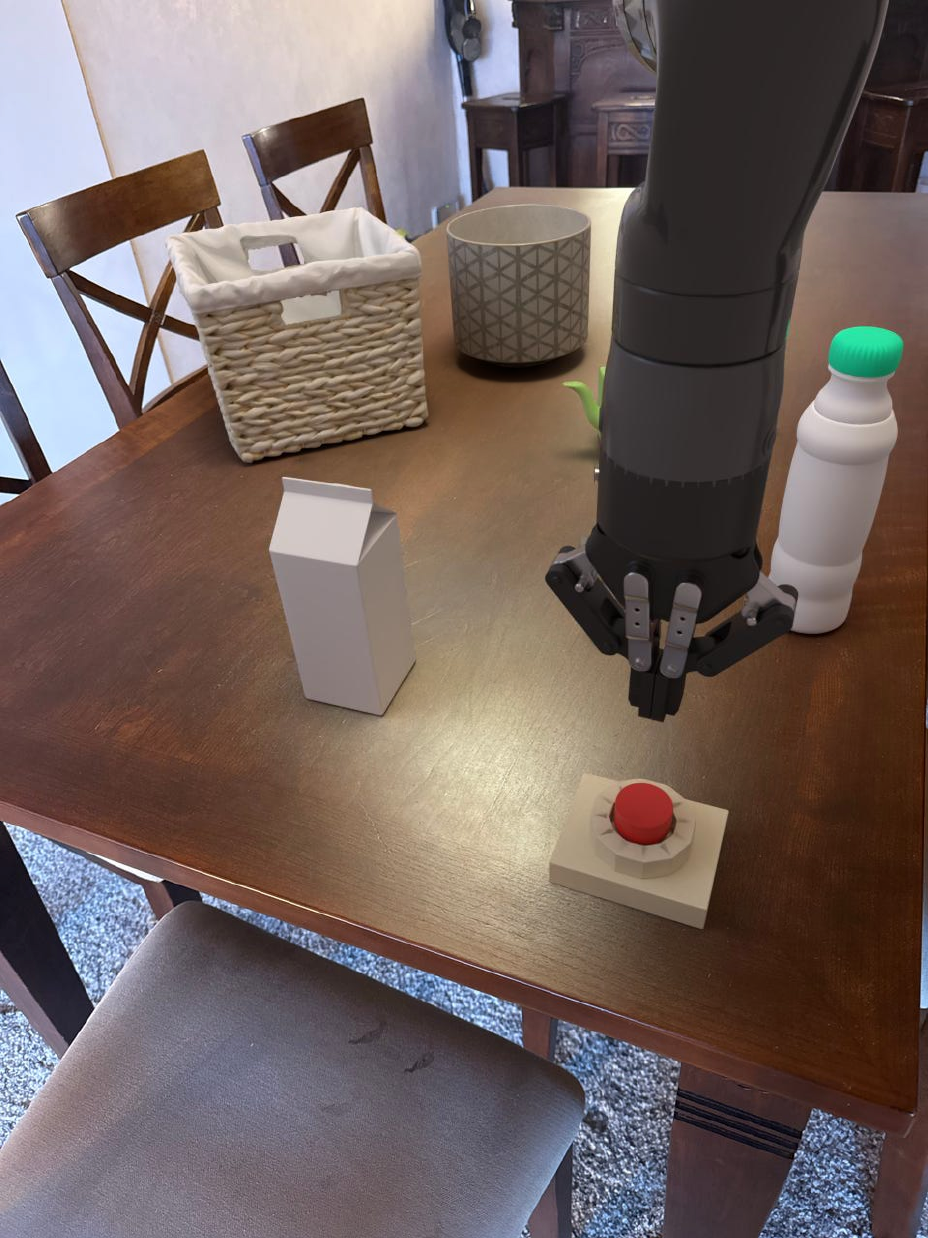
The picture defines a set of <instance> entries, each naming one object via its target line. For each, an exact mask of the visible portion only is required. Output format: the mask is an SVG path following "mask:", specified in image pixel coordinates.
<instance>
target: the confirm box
mask: <svg viewBox="0 0 928 1238" xmlns="http://www.w3.org/2000/svg"><path fill="white" fill-rule="evenodd" d="M634 783H648V784H652V785H655V786H657V787H659V788H661V789H662V790H664V791H665V792H666V793H667V794H668V795H669V797H670V798H671V800H672V803H673V815H672V822H671V828H670V831H669V833H668V835H667V836H666V837H665V838H664V839H663V840H661V841H660V842H658V843H655V844H650V845H641V844H636V843H633V842H630V841H628V840H627V839H625V838H624V837H623V836H622V835H620V833H619V832H618V831H617V829H616V827H615V824H614V812H615V800H616V797H617V795H618V793H619V792H620V791H621V790H622V789H623V788H624V787H626V786H628V785H630V784H634ZM729 812H730V811H729V810H728V809H726V808H721V807H717V806H713V805H710V804H706V803H703V802H698V801H694V800H692V799H687V798H684V796H682V795H680V794H679V793H678V792H677V791H676V790H674V789H673V788H671V786H670V785H668V784H664V783H661V782H658V781H653V780H650V779H645V778H641V777H639V778H632V779H627V780H626V779H625V780H615V779H611V778H607V777H604V776H600V775H596V774H593V773H589V772H583V774H582V776H581V779H580V781H579V784H578V787H577V788H576V791H575V794H574V797H573V799H572V802H571V804H570V807H569V810H568V812H567V815H566V818H565V820H564V822H563V825H562V827H561V830H560V833H559V835H558V837H557V841H556V843H555V846H554V848H553V851H552V853H551V855H550V859H549V861H548V882H550V883H552V884H554V885H558V886H562V887H564V888H568V889H571V890H574V891H578V892H580V893H583V894H587V895H590V896H593V897H596V898H600V899H604V900H607V901H609V902H612V903H616V904H619V905H622V906H625V907H628V908H632V909H635V910H639V911H642V912H645V913H648V914H652V915H654V916H657V917H661V918H664V919H667V920H671V921H673V922H677V923H680V924H684V925H687V926H690V927H693V928H697V929H699V930H704V928H705V923H706V919H707V914H708V909H709V905H710V900H711V896H712V892H713V887H714V882H715V878H716V873H717V869H718V865H719V864H718V863H719V859H720V854H721V850H722V845H723V840H724V837H725V832H726V827H727V821H728V817H729Z"/></svg>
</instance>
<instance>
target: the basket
mask: <svg viewBox="0 0 928 1238" xmlns="http://www.w3.org/2000/svg"><path fill="white" fill-rule="evenodd" d="M164 241H165V242H164V243H165V248H166V252H167V256H168V259H169V261H170V262H171V264H172V268H173V270H174V271H173V272H174V274H175V278H176V279H175V280H176V283H177V285H178V288H179V293H180V295H182V297H183V298H184V301H186V305H187V306H188V308H189V309H190V312H191V316H192V318H193V322H194V327H195V328H196V330H197V334H198V336H199V337H198V338H199V342H200V346H201V350H202V351H203V356H204V359H205V361H206V365H207V372H208V375H209V376H210V380H211V384H212V386H213V391H214V392H215V398H216V399H217V403H218V406H219V408H220V409H219V411H220V413H221V414H222V419H223V421H224V426H225V430H226V431H227V436H228V440H229V442H230V445H231V446H232V448H233V449H234V451H235V453H236V454H237V455H238V457H239V458H240V460H242V462H243V463H246V464H247V463H248V464H251V463H253V462H255V461H260V460H262V459H263V458H264V457H278V456H281V455H282V454H283V453H297V452H300V451H301V450H302V449H318V448H319V447H321V445H322V444H323V445H324V444H336V443H342V442H343V441H353V440H356V439H360V438H362V437H363V436H364V435H367V436H371V435H376V434H379V433H382V431H384V432H385V431H395V430H397V431H399V430H401V429H403V428H404V426H405V427H406V428H407V427H408V428H415V427H418V426H420V425H422V424H423V423H424V420H426V419H427V418H428V417H429V410H428V403H427V402H428V401H427V397H426V394H427V393H426V391H427V389H426V385H425V383H426V382H425V377H426V374H425V373H426V371H425V369H424V358H425V356H424V342H423V338H422V336H421V335H422V331H423V327H422V325H423V323H422V318H421V299H420V296H421V294H420V279H419V278H421V277H422V276H423V273H422V271H423V262H422V257H421V253H420V251H419V250H418V249H417V247H416V246H415V245H413V244H411V243H410V242H409V241H407V240H406V238H405V237H404V236H403V235H401V234H399V233H398V232H397V231H396V229H394V228H392V227H391V226H389V224H386V223H385V222H383V221H382V220H381V219H379V218H378V217H377V216H375V215H373V214H372V213H371V212H370V211H369V210H366V209H365V208H364V207H363V206H358V207H357V206H353V207H349V208H343V209H334V210H327V211H322V212H320V213H310V214H307V215H300V216H299V215H297V216H292V217H286V218H283V219H273V220H269V221H267V220H266V221H264V220H263V221H261V220H259V221H254V222H247V221H246V222H240V223H237V224H235V223H228V224H225V225H223V226H220V227H218V228H206V229H199V230H197V231H190V232H182V233H179V234H178V233H177V234H176V233H174V234H173V233H172V234H170V235H167V236H166V238H165V240H164ZM286 244H287V245H288V244H297V245H298V247H299V248H298V249H299V250H300V253H301V257H302V259H303V263H301V264H293V265H288V266H286V267H279V268H278V267H276V268H273V269H261V270H260V269H253V268H252V267H251V264H250V263H249V257H250V255H249V251H250V250H252V251H253V250H261V249H263V248H264V249H265V248H269V247H277V246H283V245H286Z"/></svg>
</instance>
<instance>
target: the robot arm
mask: <svg viewBox="0 0 928 1238" xmlns="http://www.w3.org/2000/svg"><path fill="white" fill-rule="evenodd" d="M611 2H612V3H611V4H612V10H613V14H614V19H615V22H616V25H617V28H618V30H619V33H620V35H621V38H622V39H623V41H624V43H625V45H626V46H627V48H628V50H629V51H630V53H631V54H632V55H633V56H634V58H635V59H636V60H637V61H638V62H639V63H640V64H641V65H642V66H643V67H644V68H645V69H647V71H649V72H651V74H654V75H655V76H656V84H655V98H654V104H653V115H652V122H651V130H650V131H651V132H650V139H649V147H648V153H647V162H646V170H645V178H644V181H642V182H640V183H639V184H638V186H636V187H635V188H634V189H633V190H632V191H631V193H630V194H629V196H628V197H627V199H626V201H625V203H624V205H623V208H622V211H621V216H620V219H619V225H618V230H617V237H616V247H615V259H614V273H613V292H612V293H613V294H612V314H611V329H610V331H611V335H610V344H609V349H608V356H607V361H606V365H605V366H606V370H605V376H604V383H603V393H602V405H601V407H600V410H599V430H600V437H599V457H598V467H599V475H598V483H597V497H596V499H597V500H596V501H597V502H596V519H595V521H596V522H595V525H594V526H593V528H592V529H591V531H590V534H589V536H587V537H588V539H587V541H586V544H584V545H582V546H580V547H579V546H578V547H575V546H572V545H563V546H562V547H561V548H560V549H559V551H558V553H557V554H556V555H555V557H554V559H553V560H552V561H551V564H550V566H549V569H548V570H547V572H546V574H545V577H544V580H545V583H546V585H547V586H548V587H549V589H550V590H551V591H552V592H553V593H554V595H555V596H556V598H557V599H558V600H559V602H560V603H561V604H562V605H563V606H564V608H565V609H566V610H567V611H568V613H569V614H570V615H571V617H572V618H573V619H574V621H575V622H576V623H577V624H578V626H579V627H580V628H581V629H582V631H583V632H584V633H585V634H586V636H587V637H588V638H589V640H590V641H591V642H592V643H593V645H594V646H595V647H596V649H597V650H598V651H599V653H601V654H602V655H605V656H615V655H617V654H618V655H620V656H622V657H623V658H625V659H626V660H627V661H628V664H629V666H630V672H629V685H628V696H627V699H628V703H629V704H630V706H631V707H635V708H638V710H637V717H638V718H642V719H647V720H651V721H655V722H659V723H664V722H665V720H666V718H667V715H668V716H673V717H675V716H676V714H677V713H678V712H679V710H680V707H681V704H682V700H683V699H684V698H683V697H684V695H685V687H686V681H687V675H688V674H689V673H693V672H697V673H698V674H700V675H701V676H703V677H706V678H713V677H715V676H717V675H719V674H721V673H723V672H724V671H726V670H727V669H728V668H731V667H733V666H734V665H735V664H737V663H739V662H741V661H742V660H744V659H745V658H748V656H750V655H752V654H753V653H756V652H757V651H759V650H760V649H762V648H764V647H765V646H767V645H769V644H770V643H772V642H773V641H775V640H776V639H778V638H780V637H782V636H783V635H785V634H787V633H788V632H790V631H791V629H792V626H793V622H794V616H795V611H796V606H797V600H798V591H797V589H796V588H795V587H793V586H791V585H788V584H782V585H779V586H777V585H775V584H774V583H773V582H772V581H771V580H770V579H769V578H768V577H769V576H767V575H766V574H765V573H763V572H762V571H761V570H762V568H763V563H764V561H763V554H762V553H761V551H760V547H759V546H758V541H757V537H758V536H757V535H758V529H759V526H760V525H759V524H760V519H761V515H762V514H761V513H762V508H763V503H764V498H765V492H766V487H767V483H768V478H769V477H768V476H769V472H770V465H771V462H772V461H771V460H772V454H773V449H774V446H775V443H776V440H777V436H778V434H777V433H778V425H779V419H780V418H779V417H780V414H781V407H782V402H783V395H784V388H785V387H784V385H785V359H786V348H787V338H788V336H789V331H790V325H791V324H790V323H791V319H792V314H793V313H792V312H793V307H794V302H795V296H796V291H797V287H798V280H799V276H800V272H799V271H800V269H801V262H802V257H803V255H802V254H803V249H804V247H803V246H804V237H805V232H806V228H807V226H808V224H809V221H810V219H811V217H812V214H813V212H814V210H815V208H816V206H817V204H818V201H819V199H820V197H821V195H822V193H823V191H824V190H825V186H826V184H827V183H828V180H829V179H830V178H829V177H830V175H831V173H832V171H833V168H834V165H835V163H836V160H837V157H838V155H839V152H840V150H841V147H842V145H843V142H844V140H845V137H846V134H847V132H848V129H849V127H850V125H851V122H852V119H853V117H854V114H855V111H856V110H857V107H858V104H859V101H860V99H861V96H862V93H863V91H864V88H865V85H866V83H867V80H868V77H869V75H870V71H871V69H872V66H873V63H874V60H875V57H876V54H877V52H878V48H879V44H880V40H881V37H882V34H883V29H884V26H885V20H886V16H887V11H888V7H889V2H890V0H611ZM598 575H599V576H600V577H601V578H602V580H603V581H604V583H605V584H606V586H607V587H608V588H609V590H610V591H611V593H612V594H613V596H614V597H615V598H616V600H617V601H618V602H619V604H620V605H621V606H623V607H624V608H625V609H622V608H621V606H620V605H619V604H618V602H617V601H616V600H615V599H614V597H613V596H612V595H611V593H610V592H609V591H608V589H607V588H606V587H605V585H604V584H603V583H602V581H601V580H600V579H599V577H598ZM745 595H746V596H745ZM743 596H745V597H744V599H743V603H742V606H741V609H740V610H739V611H737V612H736V613H734V614H733V615H731V616H730V617H728V618H727V619H725V620H724V621H722V622H721V623H719V624H718V625H716V626H715V627H713V628H711V629H710V630H708V631H707V632H706V633H705V634H704V636H695V633H696V629H697V625H699V624H704V623H706V622H709V621H710V620H712V619H714V618H715V617H716V616H717V615H718V614H720V613H721V612H722V611H724V610H726V609H727V608H728V607H730V606H731V605H732V604H734V603H735V602H736V601H738V600H739V599H741V598H742V597H743ZM662 621H665V622H667V623H668V626H667V630H666V635H665V639H664V647H663V648H660V647H661V639H662Z"/></svg>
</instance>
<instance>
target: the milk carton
mask: <svg viewBox="0 0 928 1238" xmlns="http://www.w3.org/2000/svg"><path fill="white" fill-rule="evenodd" d="M281 482H282V487H283V494H282V499H281V502H280V505H279V510H278V514H277V517H276V521H275V524H274V529H273V532H272V536H271V540H270V542H269V543H270V544H269V547H268V552H269V555H270V559H271V563H272V568H273V572H274V576H275V579H276V583H277V587H278V591H279V595H280V599H281V604H282V607H283V612H284V617H285V620H286V624H287V628H288V632H289V636H290V641H291V644H292V645H291V646H292V648H293V653H294V656H295V661H296V665H297V669H298V672H299V677H300V682H301V684H302V689H303V693H304V697H305V698H306V699H308V700H311V701H316V702H319V703H325V704H329V705H334V706H337V707H341V708H345V709H346V708H347V709H351V710H355V711H359V712H364V713H368V714H371V715H376V716H377V715H378V716H383V715H384V713H385V711H386V710H387V708H388V707H389V705H390V703H391V702H392V700H393V698H394V697H395V695H396V694H397V692H398V690H399V689H400V687H401V685H402V684H403V682H404V680H405V679H406V677H407V675H408V674H409V672H410V670H411V668H413V665H414V664H415V662H416V661H417V657H416V656H417V655H416V647H415V639H414V633H413V624H412V617H411V616H412V615H411V610H410V609H411V608H410V601H409V594H408V586H407V577H406V572H405V571H406V570H405V563H404V555H403V546H402V539H401V532H400V531H401V530H400V523H399V517H398V512H396V511H394V510H392V509H389V508H386V507H385V506H382V505H380V504H377V503H376V502H374V497H373V491H372V489H371V488H366V487H359V486H353V485H348V484H343V483H335V482H333V483H330V482H324V481H317V480H308V479H301V478H295V477H289V476H283V477H282V478H281Z"/></svg>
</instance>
